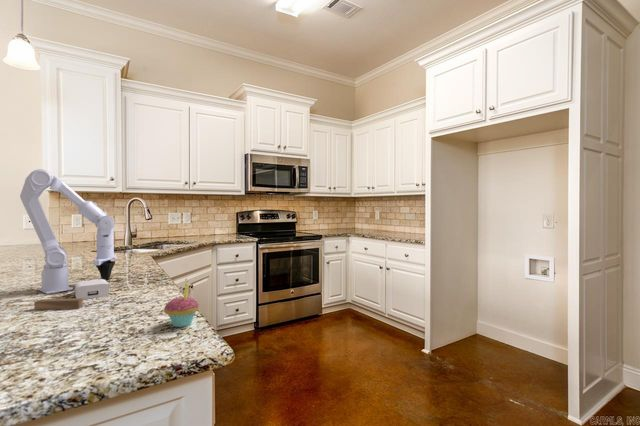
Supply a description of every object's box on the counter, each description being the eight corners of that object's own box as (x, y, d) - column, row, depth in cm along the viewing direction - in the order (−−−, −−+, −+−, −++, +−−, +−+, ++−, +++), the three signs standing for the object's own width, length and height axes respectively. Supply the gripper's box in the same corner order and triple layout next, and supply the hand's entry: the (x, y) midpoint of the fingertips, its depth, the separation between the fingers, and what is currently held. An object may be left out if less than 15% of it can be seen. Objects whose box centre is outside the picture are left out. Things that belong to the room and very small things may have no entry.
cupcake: (205, 320, 93) (205, 277, 92) (183, 331, 85) (183, 284, 84) (180, 317, 96) (180, 275, 95) (156, 327, 88) (156, 281, 87)
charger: (103, 287, 128) (109, 296, 117) (73, 291, 123) (76, 301, 111) (103, 275, 128) (108, 283, 117) (73, 278, 123) (76, 286, 111)
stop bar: (39, 307, 103) (39, 299, 103) (82, 306, 105) (82, 298, 105) (34, 310, 101) (34, 301, 101) (78, 308, 103) (78, 300, 103)
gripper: (107, 248, 126) (108, 284, 126) (123, 243, 140) (124, 275, 141) (87, 248, 125) (87, 284, 125) (105, 243, 139) (105, 276, 139)
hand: (105, 280), depth 133 cm, fingers closed
